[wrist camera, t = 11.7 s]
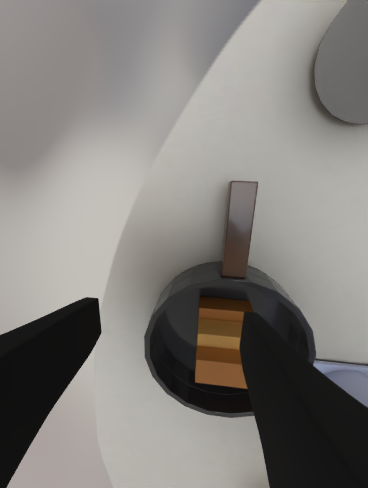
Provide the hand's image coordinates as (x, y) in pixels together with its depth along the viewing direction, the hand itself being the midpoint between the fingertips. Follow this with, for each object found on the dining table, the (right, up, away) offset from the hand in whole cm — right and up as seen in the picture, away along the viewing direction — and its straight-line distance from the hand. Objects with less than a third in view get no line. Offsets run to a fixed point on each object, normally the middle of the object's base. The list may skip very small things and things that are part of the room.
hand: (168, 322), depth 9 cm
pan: (+5, -5, +11) cm, 12 cm away
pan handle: (+5, +5, +5) cm, 9 cm away
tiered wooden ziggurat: (+5, -5, +10) cm, 12 cm away
